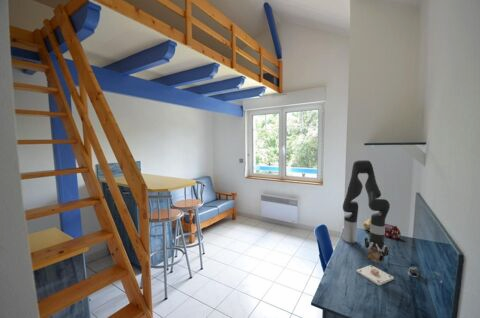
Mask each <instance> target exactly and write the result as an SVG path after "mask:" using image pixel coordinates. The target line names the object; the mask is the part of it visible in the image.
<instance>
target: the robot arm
mask: <svg viewBox="0 0 480 318" xmlns="http://www.w3.org/2000/svg"><path fill="white" fill-rule="evenodd" d="M351 169H352V171H351V176H350V181H349V184H348V187H347V192H346V195H345V198H344V200H343V204H342V211H343V212H345V213H348V214H346V215H345V216H344V219H343V220H344V221H343V222H344V223H343V227H342V238H341V239H342V240H343V241H344V242H346V243H349V244H355V243H356V242H357V228H358V227H357V225H358V224H357V223H358V214H359V204H358V203H359V202H357V201H354V200H355V199H356V198H358V197H359V196H360V195H361V193H362V190H363V183H362V181H361V180H360V179H359V174H367V179H366V182H365V185H364V186H365V187H364V188H365V192H366V194H367V197H368V207H369V209H370V210H371V211H374V212H377V213H372V214H371V215H370V216H371V218H370V219H371V225H370V231H369V237H364V248H366V249H367V250H368V249H369V248H373V247H374V248H376V249H378V251H379V253H380V261H381V262H384V260H385V257H387V256H389V253H390V246H389V245H388V246H387V245H385V239H386V236H385V224H386V218H387V215H388V213H389V210H390V205H391V204H390V202H389V201H388V200H387V199H385V198H381V195H382V192H381V190H380V188H379V186H378V182H377V180H376V176H375V172H374V170H375V169H374V167H373V164H372V162H371V160H367V159H366V160H365V159H364V160H358V159H357V160H355V161H354V162H353V165H352V168H351ZM381 262H380V263H381Z"/></svg>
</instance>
